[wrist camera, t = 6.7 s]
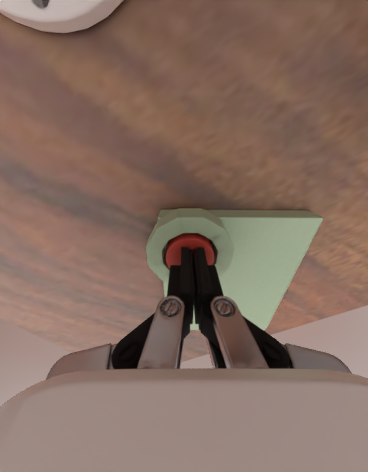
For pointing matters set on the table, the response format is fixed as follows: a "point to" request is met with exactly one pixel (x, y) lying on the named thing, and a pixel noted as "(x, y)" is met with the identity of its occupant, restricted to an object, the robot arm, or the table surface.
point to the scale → (241, 252)
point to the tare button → (191, 242)
